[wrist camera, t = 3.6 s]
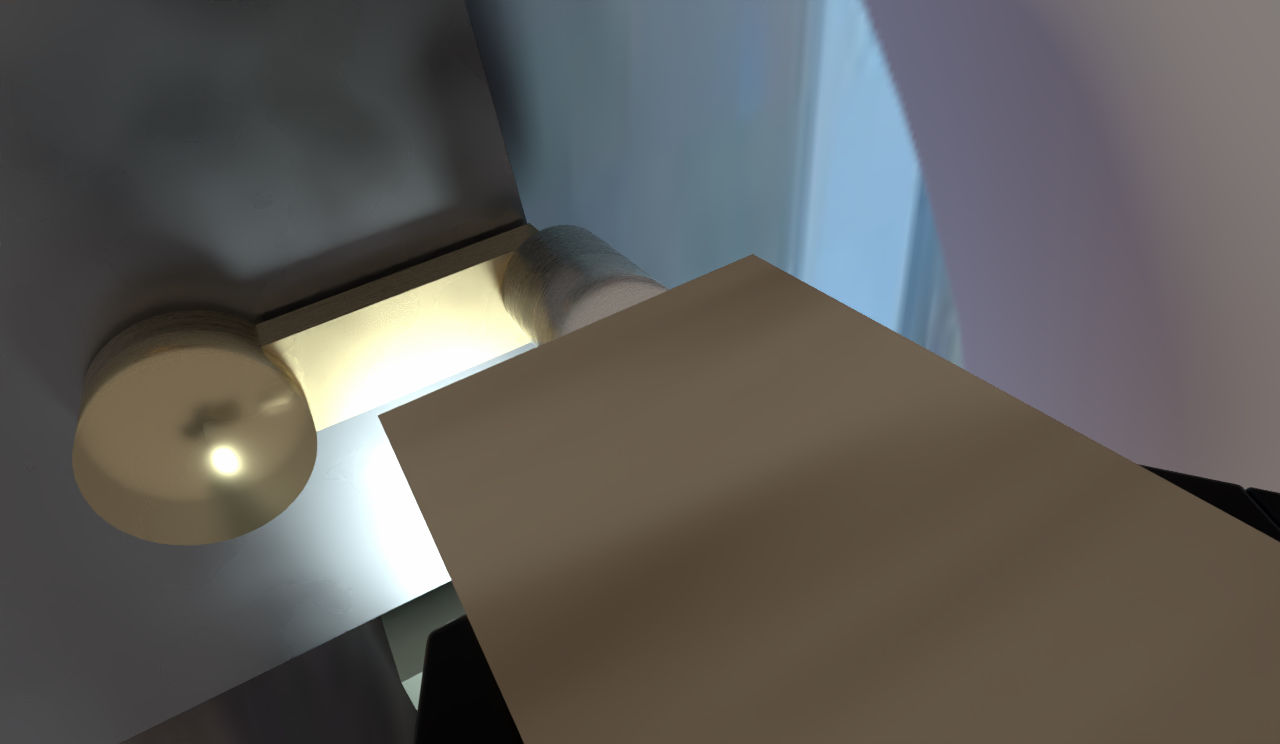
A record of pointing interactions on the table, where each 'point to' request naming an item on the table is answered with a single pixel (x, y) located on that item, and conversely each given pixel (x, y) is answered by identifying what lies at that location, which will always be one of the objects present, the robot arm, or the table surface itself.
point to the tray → (418, 631)
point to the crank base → (221, 282)
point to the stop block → (824, 543)
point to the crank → (313, 376)
